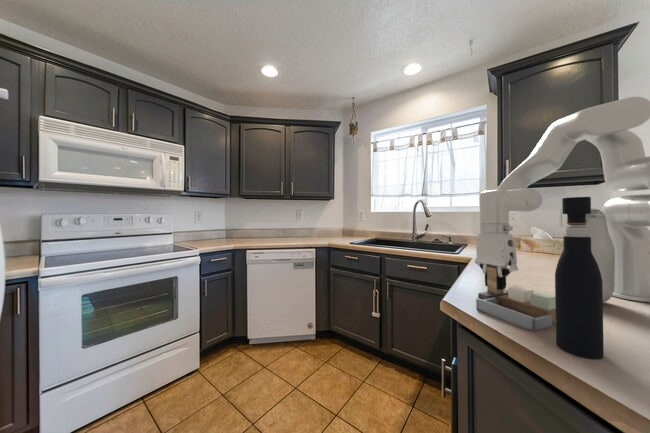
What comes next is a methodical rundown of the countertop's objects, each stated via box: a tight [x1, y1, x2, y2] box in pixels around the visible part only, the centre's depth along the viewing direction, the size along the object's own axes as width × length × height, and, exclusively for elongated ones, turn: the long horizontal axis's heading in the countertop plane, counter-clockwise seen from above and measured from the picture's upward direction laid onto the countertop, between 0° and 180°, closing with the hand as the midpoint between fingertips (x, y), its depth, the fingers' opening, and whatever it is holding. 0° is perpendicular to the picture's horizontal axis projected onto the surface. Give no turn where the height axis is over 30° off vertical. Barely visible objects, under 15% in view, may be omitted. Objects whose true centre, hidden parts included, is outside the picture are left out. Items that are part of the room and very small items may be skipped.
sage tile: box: [530, 291, 556, 310], centre depth 62 cm, size 4×4×3 cm
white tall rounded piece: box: [562, 207, 615, 303], centre depth 72 cm, size 10×10×28 cm
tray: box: [475, 297, 553, 332], centre depth 63 cm, size 7×14×3 cm, turn 19°
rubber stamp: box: [477, 266, 508, 302], centre depth 76 cm, size 11×3×10 cm, turn 109°
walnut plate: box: [497, 295, 556, 324], centre depth 66 cm, size 12×12×3 cm
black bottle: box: [554, 196, 605, 360], centre depth 47 cm, size 6×6×30 cm
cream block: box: [507, 285, 535, 303], centre depth 67 cm, size 4×4×3 cm
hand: (495, 286), depth 76 cm, fingers closed on rubber stamp, 3 cm apart
